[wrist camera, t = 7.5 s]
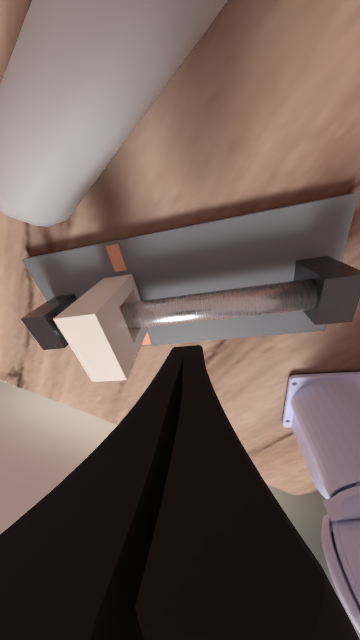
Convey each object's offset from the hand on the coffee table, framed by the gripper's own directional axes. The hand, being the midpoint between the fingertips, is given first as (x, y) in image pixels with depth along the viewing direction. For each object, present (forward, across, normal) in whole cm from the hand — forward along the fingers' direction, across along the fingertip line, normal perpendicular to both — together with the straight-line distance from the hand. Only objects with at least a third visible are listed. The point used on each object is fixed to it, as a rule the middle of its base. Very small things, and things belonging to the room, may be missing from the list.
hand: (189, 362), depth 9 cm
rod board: (+9, +2, 0) cm, 9 cm away
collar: (+7, +6, 0) cm, 10 cm away
